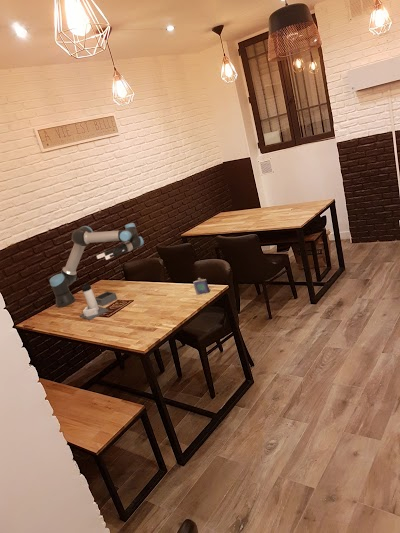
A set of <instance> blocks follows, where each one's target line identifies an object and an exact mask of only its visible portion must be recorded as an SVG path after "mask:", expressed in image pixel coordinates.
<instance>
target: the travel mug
mask: <svg viewBox="0 0 400 533" xmlns="http://www.w3.org/2000/svg"><path fill="white" fill-rule="evenodd" d="M81 291H82V294H83V297H84V299H85V301H86V304H87V306H88V307H89V309H93V308H96V309H97V311H99V307H100V306H99V305H98V304H97V302H96V299H95V297H96V296H95V294H94V291H93V288H92V286H91V284H90V283H86V284H84V285H82V286H81ZM98 306H99V307H98Z"/></svg>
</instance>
